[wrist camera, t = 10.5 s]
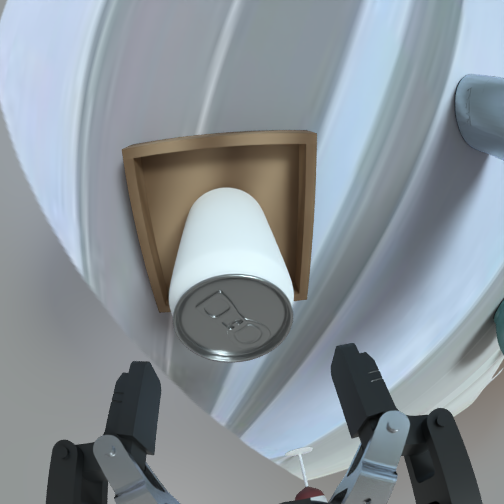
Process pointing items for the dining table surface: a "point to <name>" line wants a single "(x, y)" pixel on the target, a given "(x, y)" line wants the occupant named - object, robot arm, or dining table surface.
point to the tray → (223, 176)
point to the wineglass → (307, 491)
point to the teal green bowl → (500, 325)
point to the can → (230, 280)
